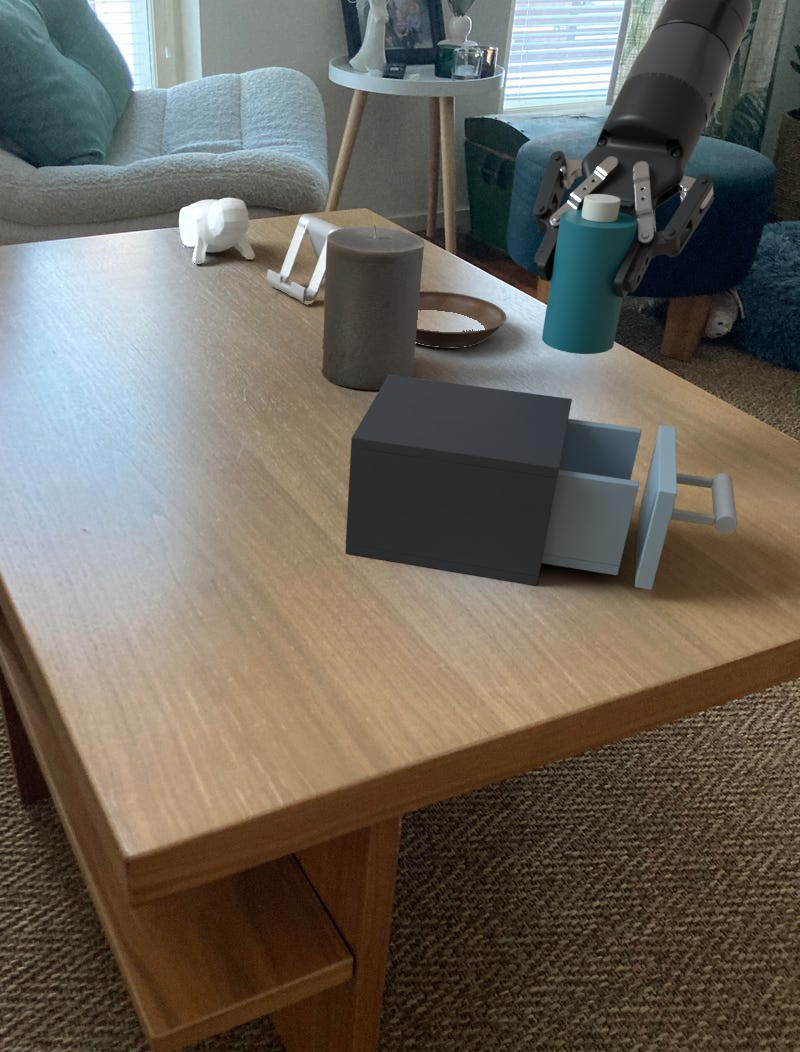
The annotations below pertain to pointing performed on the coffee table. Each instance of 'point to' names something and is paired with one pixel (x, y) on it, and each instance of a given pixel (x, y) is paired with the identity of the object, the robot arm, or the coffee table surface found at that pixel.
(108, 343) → the coffee table surface
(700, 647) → the coffee table surface
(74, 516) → the coffee table surface
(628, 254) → the robot arm
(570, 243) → the detergent bottle
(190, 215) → the white animal figurine
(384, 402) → the drawer casing
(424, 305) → the saucer
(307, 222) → the tablet stand
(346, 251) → the pillar candle
